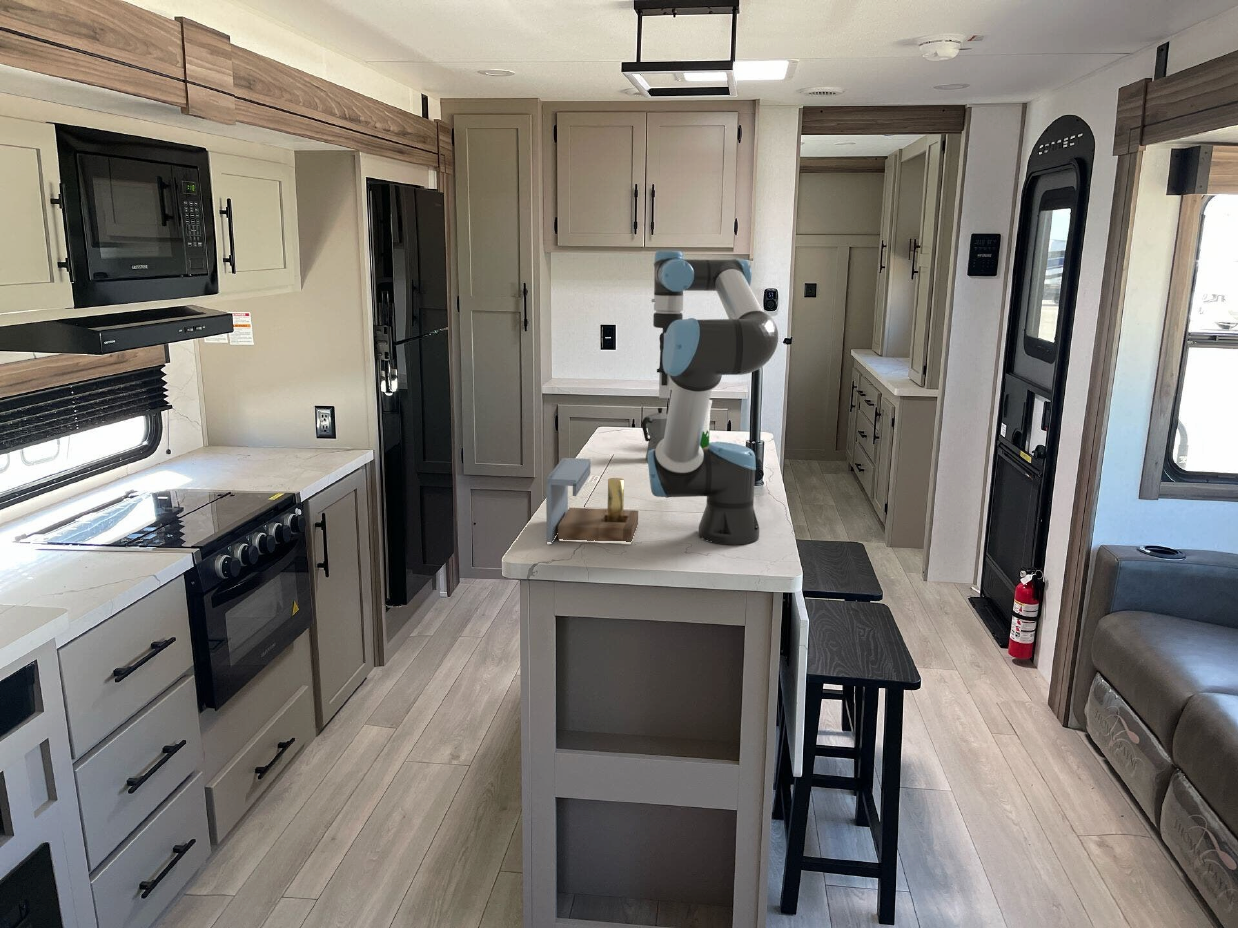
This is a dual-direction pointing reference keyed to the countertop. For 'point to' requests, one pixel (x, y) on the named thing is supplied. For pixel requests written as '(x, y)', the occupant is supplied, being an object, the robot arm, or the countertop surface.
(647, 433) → the coffeepot
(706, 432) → the milk carton
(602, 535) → the socket block
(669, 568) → the countertop surface
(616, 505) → the peg
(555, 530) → the blue-grey hooked bracket
